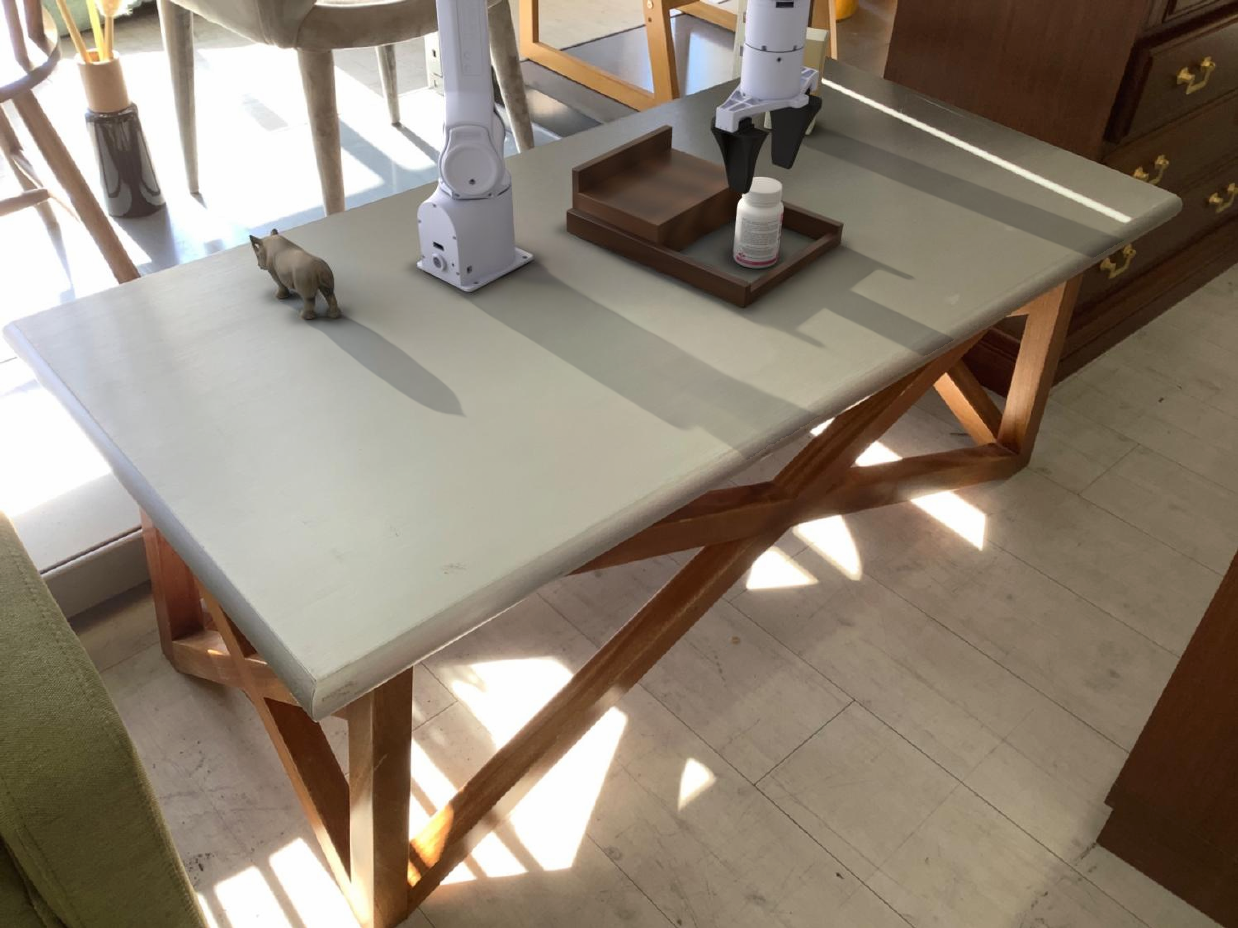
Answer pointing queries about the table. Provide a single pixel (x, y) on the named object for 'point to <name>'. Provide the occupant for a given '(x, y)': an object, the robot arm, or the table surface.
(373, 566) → the table surface
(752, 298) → the step rack
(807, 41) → the cosmetic box
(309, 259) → the rhino figurine
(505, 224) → the robot arm
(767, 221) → the pill bottle
